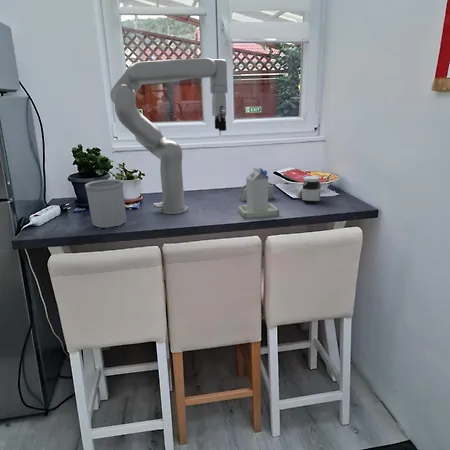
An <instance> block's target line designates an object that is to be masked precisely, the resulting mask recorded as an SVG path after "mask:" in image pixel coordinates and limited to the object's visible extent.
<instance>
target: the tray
mask: <svg viewBox="0 0 450 450" xmlns="http://www.w3.org/2000/svg"><path fill="white" fill-rule="evenodd" d="M237 212H238V214H240V215H241V217H242V218H243V219H244V220H250V219H251V220H252V219H259V218H272V217H279V216H280V210H279V209H278V208H277V207H276V206H275V205H273V204H272V202H268V211H259V212H248V211H247V204H244V205H237Z"/></svg>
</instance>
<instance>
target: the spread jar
mask: <svg viewBox="0 0 450 450" xmlns="http://www.w3.org/2000/svg"><path fill="white" fill-rule="evenodd" d="M321 186H322V185H321V181H320V176H318V175H307V176H304V181H303V184H302V185H301V186H300V187H299V188H298V189H297V191H296V197H297V199H300V200H302V202H303V203H304V204H311V205H313V204H318V203H319V202H320V200H321V188H322V187H321ZM301 198H302V199H301Z"/></svg>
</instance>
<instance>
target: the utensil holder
mask: <svg viewBox="0 0 450 450" xmlns="http://www.w3.org/2000/svg"><path fill="white" fill-rule="evenodd" d="M84 187H85V190H86V195H87V201H88V206H89V212H90V217H91V218H90V219H91V223H92V226H93V225H94V226H97V227H110V226H117V225H121V224H123V223H125V222H126V223H127V212H126V204H125V196H124V195H125V194H124V181H123V180H121V179H118V178H117V179H115V178H111V179H110V178H109V179H100V180H99V179H98V180H93V181H89V182H87V183H85V184H84ZM126 223H125V224H126ZM123 225H124V224H123ZM94 226H93V227H94ZM121 226H122V225H121Z"/></svg>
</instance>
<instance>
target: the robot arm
mask: <svg viewBox="0 0 450 450" xmlns="http://www.w3.org/2000/svg"><path fill="white" fill-rule="evenodd" d="M227 64H228V63H227V60H225V59H223V58H219V59H218V58H217V59H212V58H210V57H199V58H197V57H196V58H185V59H176V58H175V59H159V60H147V61H137V62H134V63H132V64H130V65H129V67H127V69H126V70H125V72H124V73H123V74H122V76H120V78H119V79H118V80H117V82H116V83H115V84H114V85H113V87H112V88H111V90H110V94H109V96H110V101H112V103H113V104H114V111H115V114H116V117H117V119H118V121H119V122H120V123H121V125H123V126H124V128H125V129H127V130H128V131H129V132H130V133H131V134H133V136H134V137H135V140H136V141H137V142H138V143H139V144H140V145H141V146H142V147H144V148H145V149H146V150H147V151H149V152H150V153H151V154H152V155H154V156H155V158H157V159H160V168H159V169H160V170H159V171H160V180H161V181H160V182H161V193H162V201H160V202H157V203H155V202H154V203H153V205H152V206H153V208H154V209H155V208H156V209H159V210H160V213H161V214H165V215H179V214H183V213H186V212H188V211H189V206H188V205H185V194H184V181H183V180H184V179H183V178H184V177H183V150H182V147H181V146H180V144H179V143H178V142H176V141H174V140H171V139H168V138H167V137H166V136H164V135H163V134H162V132H161V129H160V128H159V127H158V126H157V125H155V124H154V123H153V122H152V121H150V120H149V119H148V118H147V117H145V115H144V114H143V113H141V112H140V110H139V109H138V108H137V106H136V99H137V95H136V94H137V92H138V91H139V90H140V89H141V87H142V85H151V84H161V83H162V84H163V83H164V84H165V83H173V82H174V83H175V82H179V81H184V80H191V79H192V80H194V79H205V78H209V88H210V89H209V90H210V94H212V96H211V97H212V98H211V99H212V101H211V104H212V105H211V107H212V108H211V113H212V117H214V128H215V130H218V131H219V132H223V131H225V132H226V131H227V119H226V116H227V99H226V94H228V71H227V70H228V68H227V67H228V65H227Z"/></svg>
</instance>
